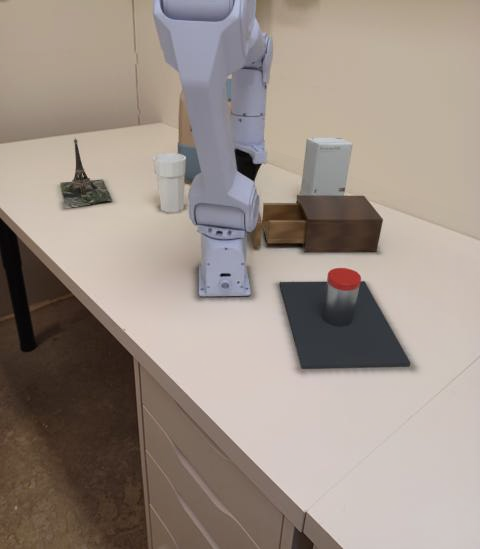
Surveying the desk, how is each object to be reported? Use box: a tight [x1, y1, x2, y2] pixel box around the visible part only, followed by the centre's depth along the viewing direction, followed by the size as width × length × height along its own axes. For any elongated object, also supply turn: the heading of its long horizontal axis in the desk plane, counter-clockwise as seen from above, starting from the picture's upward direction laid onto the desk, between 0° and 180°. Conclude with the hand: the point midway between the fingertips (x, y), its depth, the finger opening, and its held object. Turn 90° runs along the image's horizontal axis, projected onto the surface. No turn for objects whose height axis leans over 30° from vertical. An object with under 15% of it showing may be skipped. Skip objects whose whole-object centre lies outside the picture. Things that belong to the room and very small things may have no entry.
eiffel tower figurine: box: [60, 138, 113, 209], centre depth 105 cm, size 15×10×13 cm
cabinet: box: [295, 194, 384, 253], centre depth 91 cm, size 14×12×7 cm
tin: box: [322, 267, 362, 326], centre depth 67 cm, size 4×4×7 cm
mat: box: [279, 280, 411, 370], centre depth 68 cm, size 20×14×1 cm
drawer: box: [250, 202, 307, 247], centre depth 90 cm, size 17×10×5 cm, turn 94°
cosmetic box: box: [299, 137, 354, 196], centre depth 102 cm, size 8×6×15 cm
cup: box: [152, 152, 186, 213], centre depth 100 cm, size 7×7×11 cm
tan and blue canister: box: [177, 77, 236, 184], centre depth 115 cm, size 17×17×23 cm
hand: (244, 191), depth 85 cm, fingers closed
